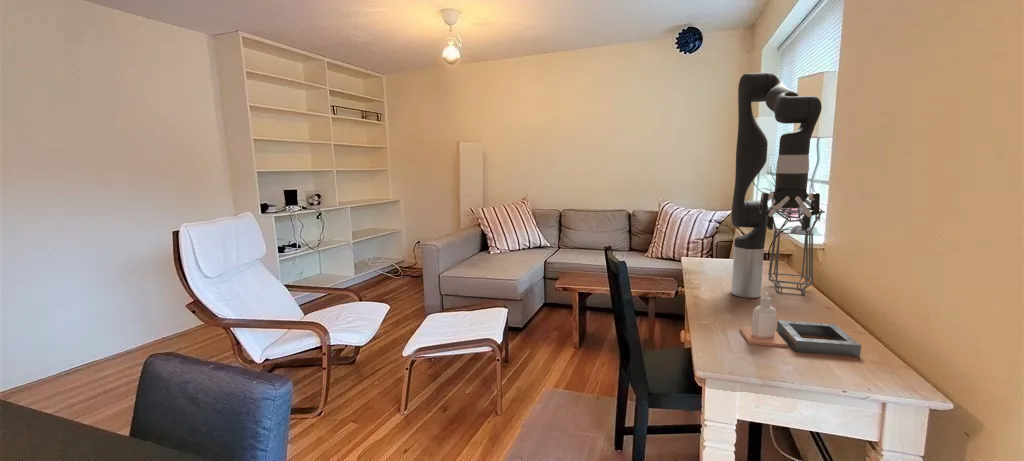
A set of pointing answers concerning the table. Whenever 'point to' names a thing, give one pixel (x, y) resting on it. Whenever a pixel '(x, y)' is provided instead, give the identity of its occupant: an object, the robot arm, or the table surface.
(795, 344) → the socket plate
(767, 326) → the eye dropper bottle
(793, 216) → the geometric lantern
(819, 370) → the table surface
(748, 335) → the terracotta tile
